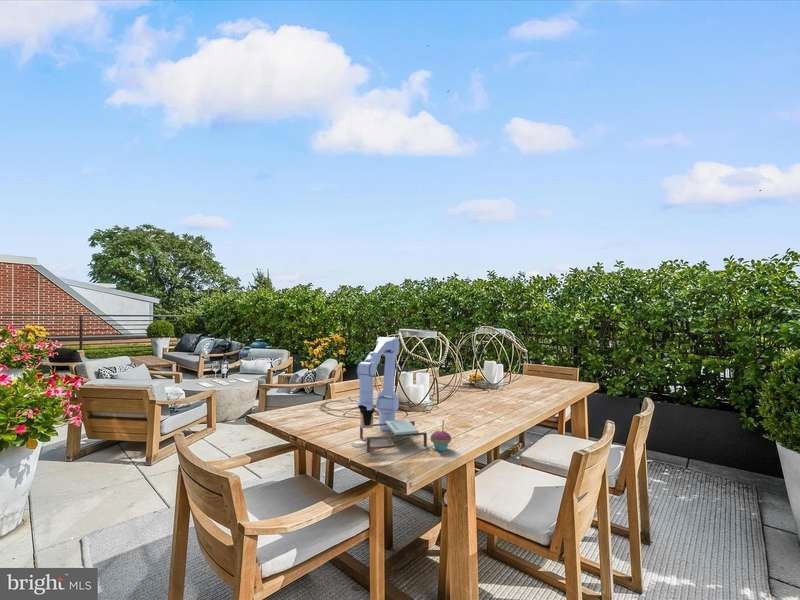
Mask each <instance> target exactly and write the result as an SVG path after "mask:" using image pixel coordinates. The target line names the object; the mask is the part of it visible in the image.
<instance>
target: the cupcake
mask: <svg viewBox="0 0 800 600" xmlns="http://www.w3.org/2000/svg"><path fill="white" fill-rule="evenodd" d="M441 425H442V426H441V431H440V430H437V431H435V432H433V433H432V434H431V435H430V442H432V444H433V447H434V449H435V450H436V451H438V452H445V451H447V449H448V446H449V444H450V443H451V441H452V435H450V433H448V432H446V431H444V427H445V418H443V420H442V424H441Z"/></svg>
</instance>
